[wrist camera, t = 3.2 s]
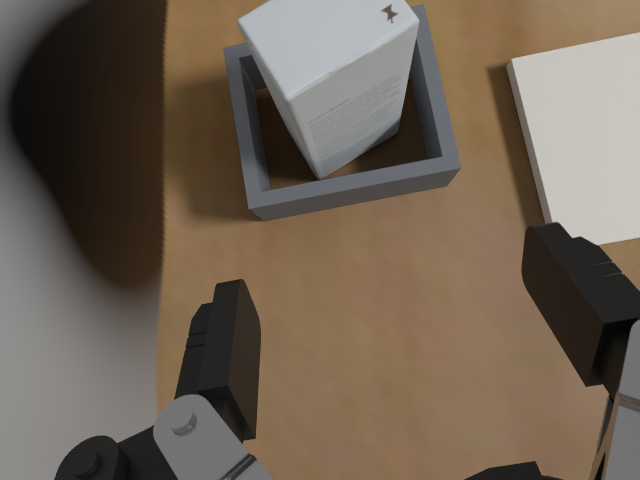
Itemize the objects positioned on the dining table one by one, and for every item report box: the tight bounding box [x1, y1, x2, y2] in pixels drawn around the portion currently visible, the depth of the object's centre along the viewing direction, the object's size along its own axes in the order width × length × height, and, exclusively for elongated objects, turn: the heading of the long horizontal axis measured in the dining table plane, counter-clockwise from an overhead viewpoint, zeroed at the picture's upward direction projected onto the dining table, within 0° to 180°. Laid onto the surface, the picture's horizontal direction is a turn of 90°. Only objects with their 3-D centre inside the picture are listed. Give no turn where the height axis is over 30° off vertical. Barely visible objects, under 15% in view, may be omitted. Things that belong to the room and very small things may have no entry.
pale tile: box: [506, 32, 640, 245], centre depth 27 cm, size 12×12×1 cm
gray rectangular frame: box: [223, 5, 461, 221], centre depth 27 cm, size 10×12×4 cm
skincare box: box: [237, 0, 419, 180], centre depth 23 cm, size 6×4×12 cm
